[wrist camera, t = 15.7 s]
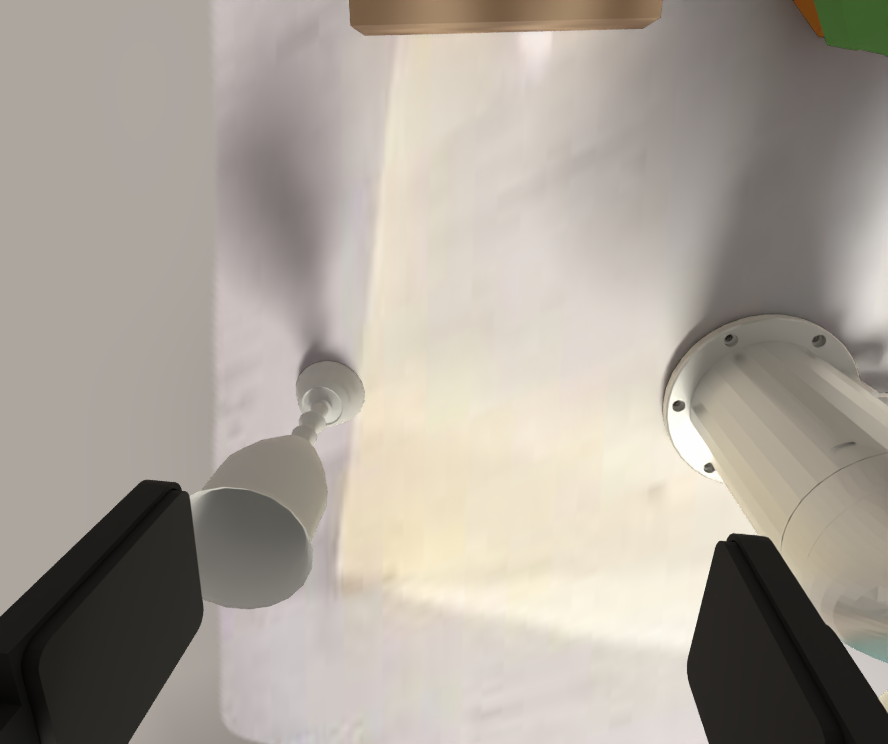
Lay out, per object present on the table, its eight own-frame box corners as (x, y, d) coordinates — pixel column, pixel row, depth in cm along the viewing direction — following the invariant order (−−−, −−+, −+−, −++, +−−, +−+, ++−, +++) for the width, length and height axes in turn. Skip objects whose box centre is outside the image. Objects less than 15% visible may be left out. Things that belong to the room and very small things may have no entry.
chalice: (306, 446, 47) (204, 624, 30) (264, 368, 45) (131, 513, 28) (394, 417, 46) (338, 587, 29) (355, 335, 43) (271, 467, 27)
